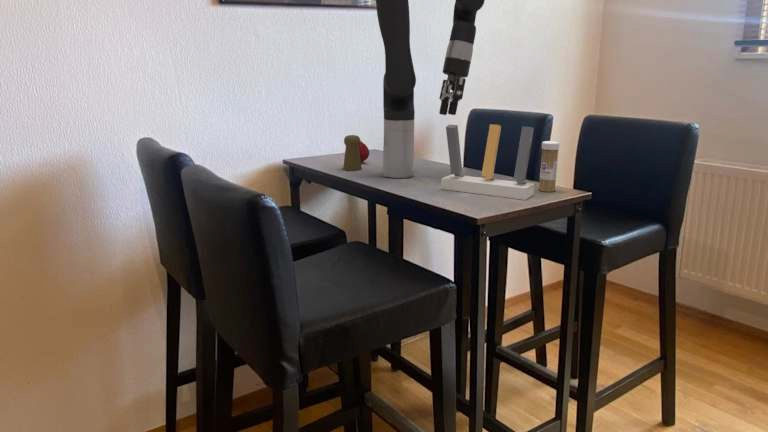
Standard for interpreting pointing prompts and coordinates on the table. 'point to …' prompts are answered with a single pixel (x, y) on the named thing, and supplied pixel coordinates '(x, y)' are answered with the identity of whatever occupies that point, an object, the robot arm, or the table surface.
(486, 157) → the lever middle
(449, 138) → the lever left
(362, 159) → the red oval lump
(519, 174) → the lever right
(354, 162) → the cork
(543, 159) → the sprinkles bottle
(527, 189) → the lever base
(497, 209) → the table surface
